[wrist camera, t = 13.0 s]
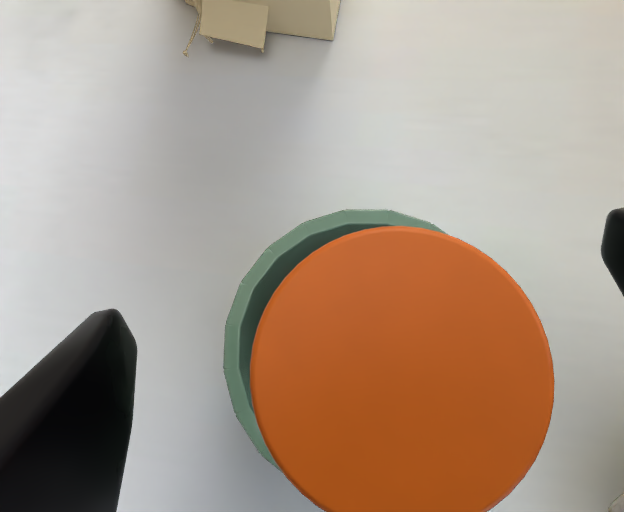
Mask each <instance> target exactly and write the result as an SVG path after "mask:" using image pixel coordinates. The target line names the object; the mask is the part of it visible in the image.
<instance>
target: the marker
mask: <svg viewBox="0 0 624 512" xmlns="http://www.w3.org/2000/svg"><path fill="white" fill-rule="evenodd" d="M250 390H251V398H252V406H253V409H254V413H255V417H256V421H257V425H258V427H259V430H260V432H261V435H262V438H263V440H264V443H265V445H266V447H267V448H268V450H269V452H270V454H271V456H272V457H273V459H274V461H275V463H276V464H277V465H278V467H279V468H280V469H281V471H282V472H283V473H284V475H285V476H286V478H287V479H288V480H289V481H290V482H291V483H292V484H293V485H294V486H295V487H296V488H297V489H298V490H299V491H300V492H301V493H302V494H303V495H304V496H305V497H306V498H308V499H309V500H310V501H311V502H313V503H314V504H315V505H316V506H318V507H319V508H321V509H322V510H324V511H326V512H487V511H488V510H490V509H492V508H493V507H495V506H496V505H497V504H498V503H499V502H500V501H502V500H503V499H504V498H505V497H506V496H508V495H509V494H510V493H511V492H512V490H513V489H514V488H515V487H516V486H517V485H518V484H519V483H520V481H521V480H522V479H523V478H524V477H525V475H526V473H527V472H528V470H529V469H530V467H531V466H532V464H533V463H534V461H535V459H536V457H537V455H538V453H539V451H540V449H541V447H542V445H543V443H544V440H545V437H546V433H547V430H548V427H549V424H550V420H551V414H552V408H553V402H554V373H553V362H552V357H551V352H550V348H549V344H548V340H547V337H546V334H545V332H544V329H543V326H542V323H541V321H540V319H539V317H538V315H537V313H536V311H535V309H534V307H533V305H532V303H531V302H530V300H529V299H528V298H527V296H526V295H525V293H524V292H523V290H522V289H521V287H520V286H519V285H518V284H517V283H516V282H515V280H514V279H513V278H512V277H511V276H510V275H509V274H508V273H507V272H506V271H505V270H504V269H503V268H502V267H501V266H500V265H498V264H497V263H496V262H495V261H494V260H493V259H492V258H490V257H489V256H487V255H486V254H484V253H483V252H481V251H480V250H478V249H477V248H475V247H474V246H472V245H470V244H468V243H466V242H464V241H462V240H460V239H458V238H455V237H452V236H449V235H447V234H444V233H441V232H438V231H433V230H429V229H424V228H419V227H408V226H383V227H376V228H370V229H364V230H361V231H357V232H354V233H350V234H347V235H344V236H342V237H340V238H338V239H335V240H333V241H331V242H329V243H327V244H325V245H324V246H322V247H320V248H319V249H317V250H316V251H314V252H312V253H311V254H310V255H309V256H307V257H306V258H305V259H304V260H302V261H301V262H300V263H299V264H297V266H296V267H295V268H294V269H293V270H292V271H291V272H290V273H289V274H288V275H287V276H286V277H285V278H284V279H283V281H282V282H281V284H280V285H279V286H278V288H277V289H276V290H275V292H274V293H273V295H272V297H271V298H270V300H269V302H268V304H267V306H266V307H265V309H264V312H263V314H262V317H261V319H260V322H259V324H258V327H257V330H256V334H255V338H254V342H253V346H252V353H251V361H250Z"/></svg>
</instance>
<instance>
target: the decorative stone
mask: <svg viewBox="0 0 624 512" xmlns="http://www.w3.org/2000/svg"><path fill="white" fill-rule="evenodd" d="M608 511H609V512H624V493H623V494H621V495H620V496H619V497H618V498H617V499H616V500H615V501H614V502H613V503H612V504H611V505H610V507H609V510H608Z"/></svg>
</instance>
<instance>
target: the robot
mask: <svg viewBox="0 0 624 512" xmlns="http://www.w3.org/2000/svg"><path fill="white" fill-rule="evenodd" d="M340 1H341V0H185V2H186V3H187V4H189V5H192V6H194V7H196V10H197V12H198V16H199V15H200V16H199V21H198V25H197V28H196V31H195V34H196V32H197V29H198V27H199V23H200V19H201V24H200V31H199V34H200V35H203V36H204V37H205V38H206V39H208V40H209V41H210V42H211V43H213V41H212V40H211V39H210V38H209V37H212V38H217V39H221V40H226V41H230V42H234V43H239V44H243V45H248V46H252V47H257V48H261V52H262V53H264V42H265V35H266V31H267V32H275V33H282V34H289V35H296V36H304V37H311V38H318V39H325V40H333V37H334V32H335V27H336V22H337V16H338V11H339V6H340ZM197 20H198V17H197ZM196 24H197V21H196ZM196 24H195V27H196ZM194 30H195V28H194ZM193 33H194V31H193ZM193 33H192V36H193ZM195 34H194V36H195ZM192 36H191V39H192V40H193V38H194V36H193V38H192ZM191 39H190V41H189V44H188V46H187V48H186V50H185V51H183V54H184V55H185V56H187V57H188V54H187V52H186V51H187V49H188V47H189V46H190V44H191V43H190V42H192V40H191Z"/></svg>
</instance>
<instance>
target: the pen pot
mask: <svg viewBox="0 0 624 512" xmlns="http://www.w3.org/2000/svg"><path fill="white" fill-rule="evenodd" d="M383 226H408V227H419V228H424V229H429V230H433V231H438V232H441V233H444V234H446V233H445V232H444V231H442V230H441V229H439V228H438V227H436V226H435V225H434V224H431V223H430V222H427V221H423V220H420V219H417V218H414V217H411V216H408V215H404V214H401V213H398V212H395V211H392V210H356V209H347V210H342V211H338V212H335V213H332V214H329V215H326V216H322V217H319V218H316V219H313V220H309V221H306V222H304V223H302V224H300V225H299V226H297V227H296V228H295V229H293V230H292V231H290V232H289V233H287V234H286V235H284V236H283V237H282V238H280V239H279V240H277V241H276V242H274V243H273V244H272V245H270V246H269V247H268V248H267V249H266V250H265V251H264V253H263V254H262V255H261V256H260V258H259V259H258V260H257V262H256V263H255V264H254V265H253V267H252V268H251V269H250V271H249V272H248V273H247V275H246V276H245V277H244V278H243V280H242V283H240V285H239V288H238V291H237V294H236V296H235V299H234V302H233V304H232V307H231V310H230V313H229V315H228V318H227V321H226V325H225V341H224V362H223V368H224V375H225V379H226V382H227V386H228V390H229V394H230V398H231V401H232V405H233V409H234V413H235V414H236V417H237V419H238V420H239V422H240V423H241V425H242V426H243V428H244V430H245V431H246V433H247V434H248V436H249V437H250V439H251V441H252V442H253V444H254V445H255V447H256V449H257V450H258V452H259V453H260V454H261V455H262V456H263V457H264V458H265V459H266V460H268V461H269V462H270V463H271V464H272V465H274V466H275V467H276V468H277V469H278V470H280V471H281V469H280V468H279V467H278V465H277V464H276V463H275V461H274V459H273V457H272V456H271V454H270V452H269V450H268V448H267V447H266V445H265V443H264V440H263V438H262V435H261V432H260V430H259V427H258V425H257V421H256V417H255V413H254V409H253V406H252V398H251V390H250V361H251V353H252V346H253V342H254V338H255V334H256V330H257V327H258V324H259V322H260V319H261V317H262V314H263V312H264V309H265V307H266V306H267V304H268V302H269V300H270V298H271V297H272V295H273V293H274V292H275V290H276V289H277V288H278V286H279V285H280V284H281V282H282V281H283V279H284V278H285V277H286V276H287V275H288V274H289V273H290V272H291V271H292V270H293V269H294V268H295V267H296V266H297V264H299V263H300V262H301V261H302V260H304V259H305V258H306V257H307V256H309V255H310V254H311V253H312V252H314V251H316V250H317V249H319V248H320V247H322V246H324V245H325V244H327V243H329V242H331V241H333V240H335V239H338V238H340V237H342V236H344V235H347V234H350V233H354V232H357V231H361V230H364V229H370V228H376V227H383ZM447 235H448V234H447ZM281 472H282V471H281ZM282 473H283V472H282ZM283 474H284V473H283Z"/></svg>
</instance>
